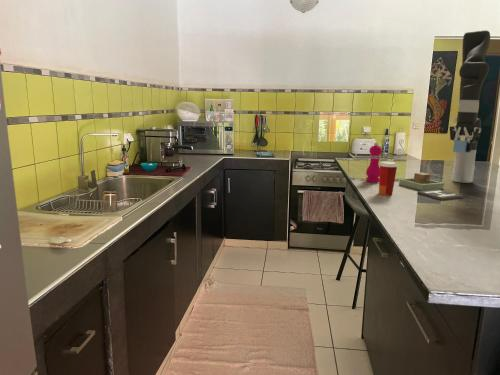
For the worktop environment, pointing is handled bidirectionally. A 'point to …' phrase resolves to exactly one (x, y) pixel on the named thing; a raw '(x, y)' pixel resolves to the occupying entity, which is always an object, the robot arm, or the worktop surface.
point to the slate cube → (460, 146)
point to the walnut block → (422, 178)
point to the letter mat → (440, 194)
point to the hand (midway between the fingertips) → (462, 151)
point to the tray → (421, 185)
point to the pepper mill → (374, 164)
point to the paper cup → (387, 177)
